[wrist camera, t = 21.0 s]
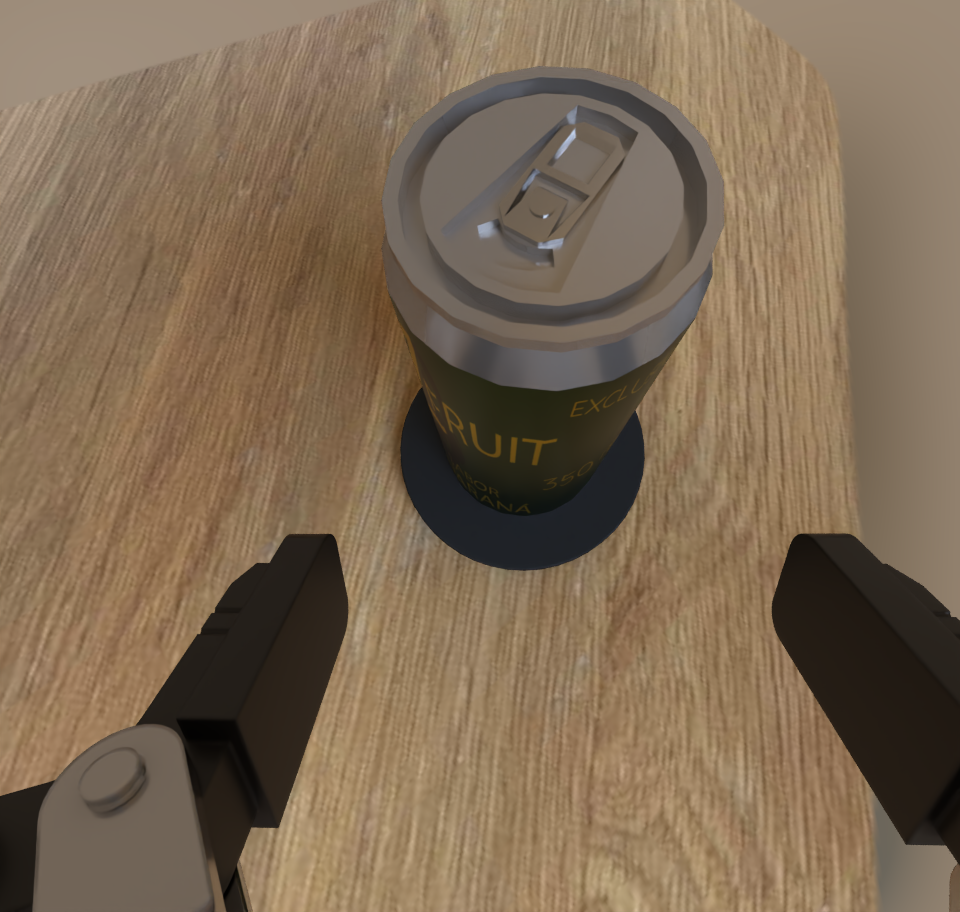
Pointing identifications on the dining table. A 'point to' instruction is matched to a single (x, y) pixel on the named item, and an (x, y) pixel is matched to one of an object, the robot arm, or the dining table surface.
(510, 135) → the beer can
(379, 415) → the dining table surface
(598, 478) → the coaster
